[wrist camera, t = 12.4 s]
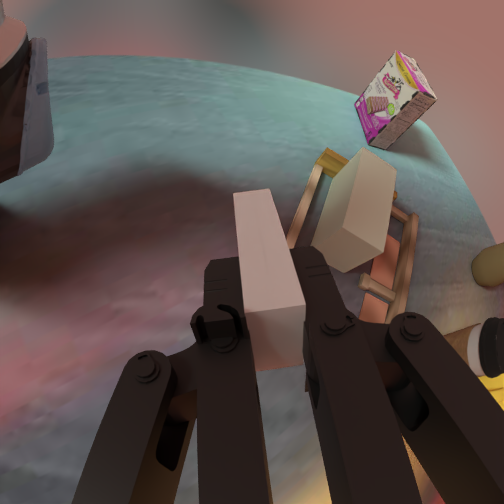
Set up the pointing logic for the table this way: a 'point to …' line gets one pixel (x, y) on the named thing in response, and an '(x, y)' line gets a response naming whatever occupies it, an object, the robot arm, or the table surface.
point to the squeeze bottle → (489, 266)
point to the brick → (356, 212)
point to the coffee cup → (481, 347)
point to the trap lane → (382, 263)
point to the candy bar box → (393, 101)
